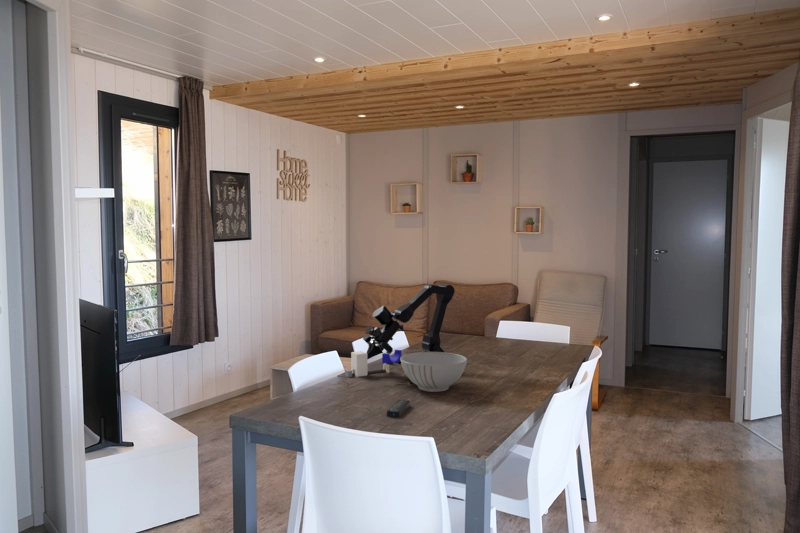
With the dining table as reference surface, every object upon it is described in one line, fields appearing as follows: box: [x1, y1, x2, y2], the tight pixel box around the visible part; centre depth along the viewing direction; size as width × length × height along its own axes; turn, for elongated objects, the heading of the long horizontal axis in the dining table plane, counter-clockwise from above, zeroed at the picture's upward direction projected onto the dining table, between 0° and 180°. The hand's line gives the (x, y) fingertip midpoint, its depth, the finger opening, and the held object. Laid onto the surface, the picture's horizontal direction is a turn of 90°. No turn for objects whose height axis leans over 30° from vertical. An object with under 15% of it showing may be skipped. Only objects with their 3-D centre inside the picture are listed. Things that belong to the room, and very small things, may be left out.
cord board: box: [344, 363, 391, 378], centre depth 262 cm, size 20×10×5 cm, turn 119°
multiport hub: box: [386, 399, 411, 418], centre depth 212 cm, size 4×14×2 cm, turn 164°
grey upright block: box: [350, 350, 368, 378], centre depth 260 cm, size 5×6×10 cm
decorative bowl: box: [400, 351, 468, 393], centre depth 244 cm, size 27×27×12 cm
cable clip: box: [381, 349, 403, 365], centre depth 288 cm, size 12×4×6 cm, turn 148°
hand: (365, 359), depth 261 cm, fingers closed, pressing on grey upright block
